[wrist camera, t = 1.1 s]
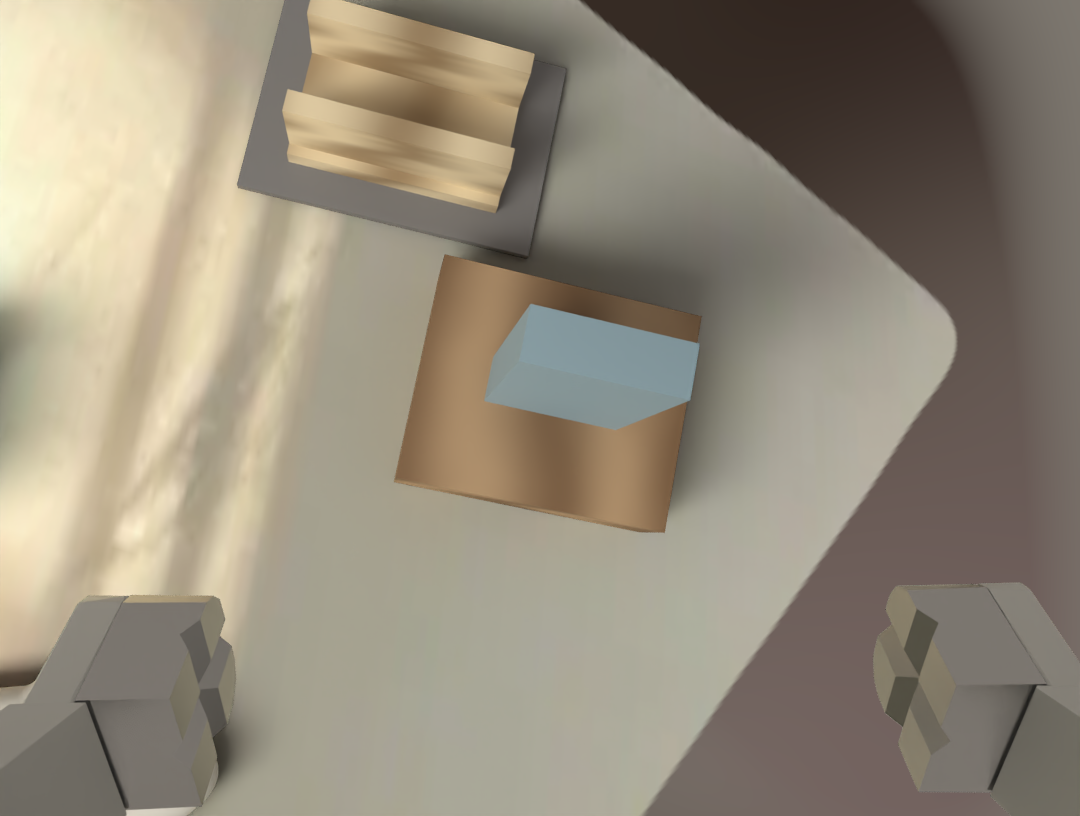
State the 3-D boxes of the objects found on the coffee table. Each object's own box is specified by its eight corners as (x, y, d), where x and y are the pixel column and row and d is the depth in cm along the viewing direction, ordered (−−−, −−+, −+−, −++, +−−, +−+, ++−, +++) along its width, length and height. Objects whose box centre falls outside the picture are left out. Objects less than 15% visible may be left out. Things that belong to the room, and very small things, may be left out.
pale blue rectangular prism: (484, 401, 41) (519, 361, 31) (493, 356, 41) (530, 303, 31) (615, 430, 42) (690, 400, 32) (623, 386, 42) (699, 343, 32)
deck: (393, 482, 44) (396, 477, 40) (438, 278, 45) (444, 254, 41) (639, 532, 45) (664, 532, 42) (674, 334, 47) (701, 316, 43)
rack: (289, 165, 45) (279, 121, 40) (320, 38, 46) (314, -19, 41) (494, 216, 46) (508, 180, 41) (520, 92, 47) (537, 43, 42)
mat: (238, 187, 44) (237, 184, 44) (287, -4, 46) (286, -9, 45) (526, 258, 46) (528, 255, 46) (565, 72, 48) (566, 68, 47)
